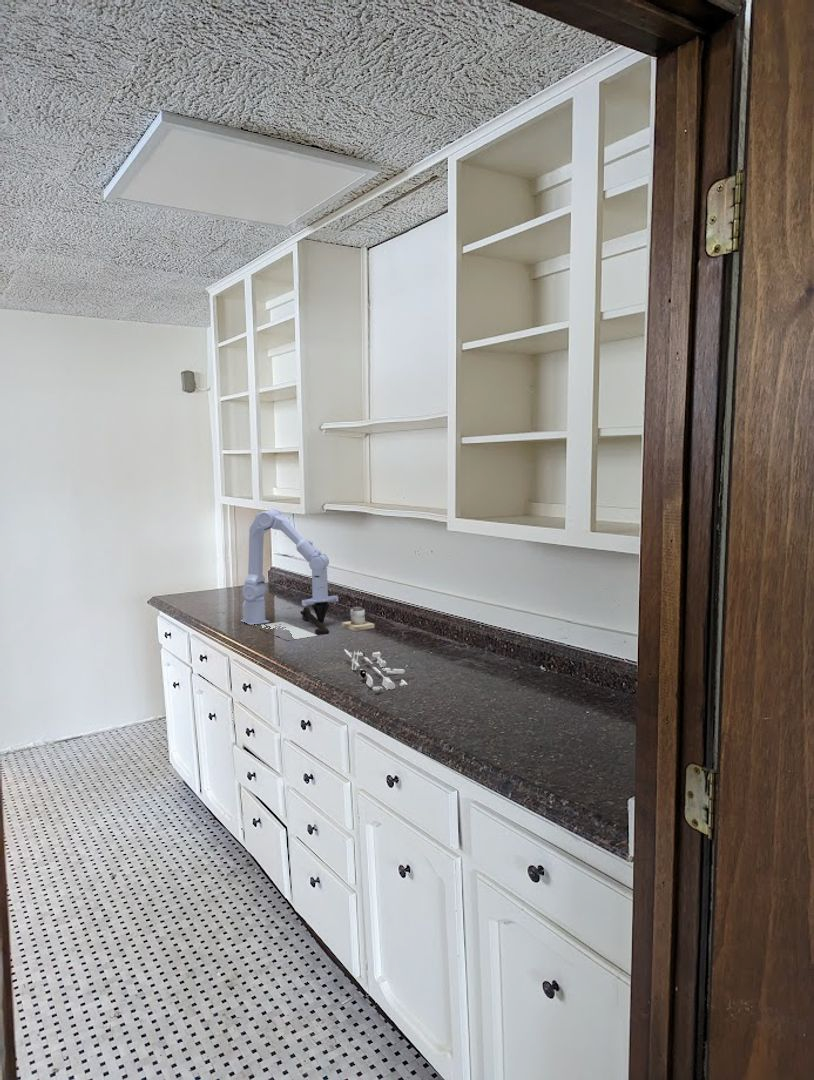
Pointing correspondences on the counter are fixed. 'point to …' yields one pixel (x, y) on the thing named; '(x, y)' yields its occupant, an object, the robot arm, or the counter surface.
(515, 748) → the counter surface
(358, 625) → the cup on beige base
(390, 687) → the miniature set
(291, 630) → the tool mat
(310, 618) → the dark brown hooked rod
